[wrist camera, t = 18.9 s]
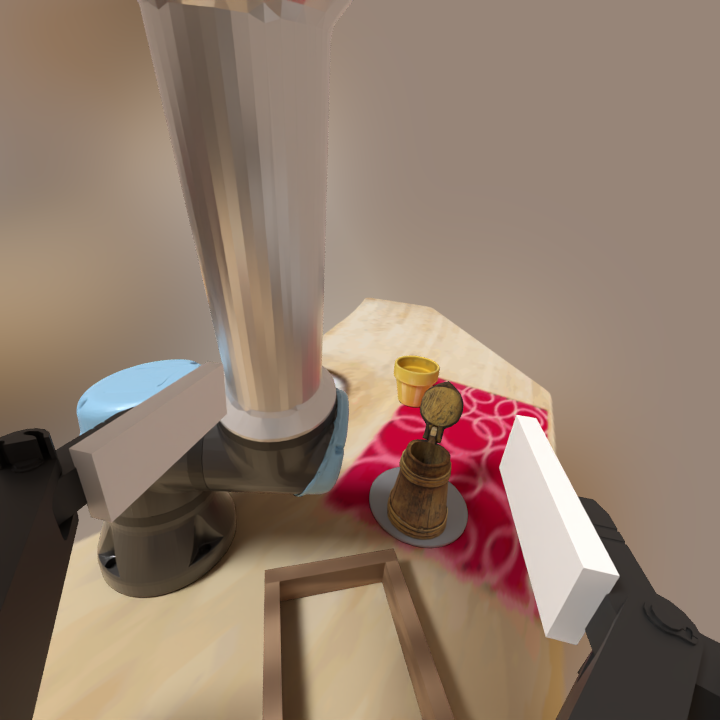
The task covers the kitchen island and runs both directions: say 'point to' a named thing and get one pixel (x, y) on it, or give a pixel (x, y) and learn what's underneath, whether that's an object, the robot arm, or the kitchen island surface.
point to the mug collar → (343, 576)
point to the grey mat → (379, 510)
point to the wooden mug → (426, 469)
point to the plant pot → (414, 378)
